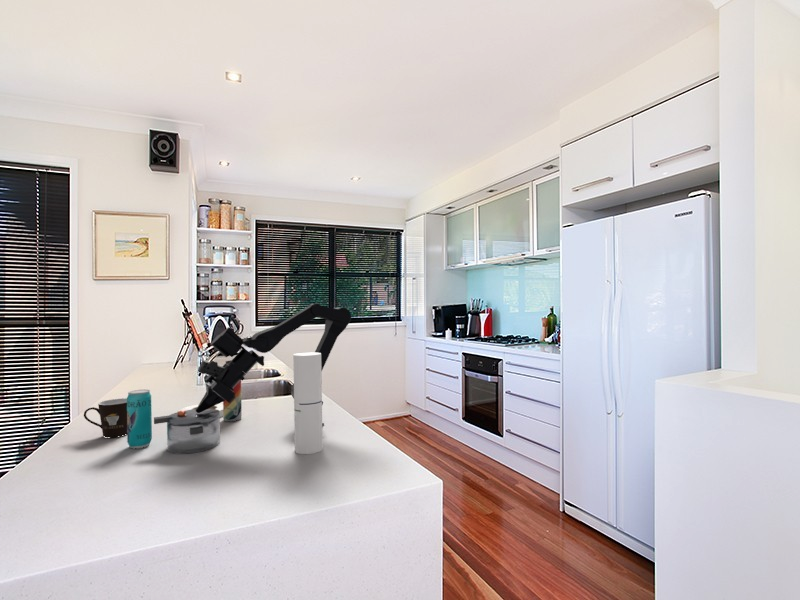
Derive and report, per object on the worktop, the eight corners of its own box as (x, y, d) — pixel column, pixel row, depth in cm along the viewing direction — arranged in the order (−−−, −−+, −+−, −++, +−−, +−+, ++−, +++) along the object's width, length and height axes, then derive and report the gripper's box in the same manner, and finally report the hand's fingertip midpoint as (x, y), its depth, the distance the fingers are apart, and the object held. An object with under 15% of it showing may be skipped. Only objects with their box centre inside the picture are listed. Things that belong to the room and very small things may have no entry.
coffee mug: (139, 431, 134) (139, 398, 134) (118, 439, 125) (118, 405, 125) (104, 430, 135) (104, 398, 135) (81, 439, 126) (81, 404, 126)
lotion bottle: (229, 422, 141) (228, 361, 141) (219, 420, 145) (219, 360, 145) (245, 418, 146) (244, 359, 146) (235, 416, 149) (234, 358, 149)
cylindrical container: (316, 454, 110) (314, 355, 110) (290, 453, 111) (288, 355, 111) (326, 445, 117) (325, 352, 117) (301, 444, 118) (300, 352, 118)
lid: (216, 410, 128) (216, 402, 128) (222, 420, 116) (222, 411, 116) (154, 418, 120) (153, 409, 120) (153, 430, 108) (153, 420, 108)
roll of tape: (237, 413, 154) (237, 405, 154) (197, 424, 141) (197, 415, 141) (210, 408, 163) (210, 401, 163) (170, 418, 150) (170, 410, 150)
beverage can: (122, 447, 118) (122, 392, 118) (143, 441, 123) (143, 388, 123) (135, 451, 115) (134, 394, 115) (156, 444, 120) (155, 390, 120)
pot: (216, 433, 130) (215, 409, 130) (224, 450, 114) (223, 423, 114) (166, 440, 123) (166, 416, 123) (168, 459, 108) (167, 431, 108)
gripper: (212, 346, 130) (171, 388, 124) (220, 352, 114) (174, 400, 108) (240, 370, 134) (202, 411, 128) (252, 379, 118) (209, 426, 112)
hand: (196, 412), depth 119 cm, fingers closed
